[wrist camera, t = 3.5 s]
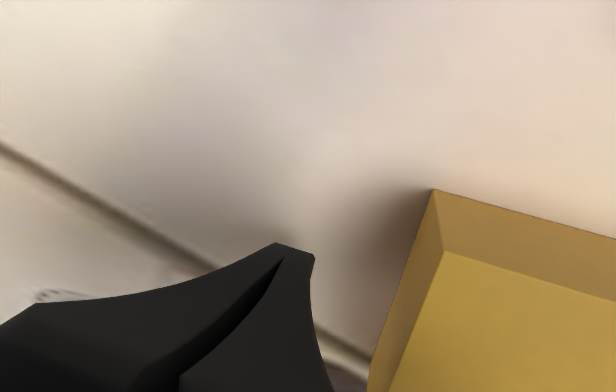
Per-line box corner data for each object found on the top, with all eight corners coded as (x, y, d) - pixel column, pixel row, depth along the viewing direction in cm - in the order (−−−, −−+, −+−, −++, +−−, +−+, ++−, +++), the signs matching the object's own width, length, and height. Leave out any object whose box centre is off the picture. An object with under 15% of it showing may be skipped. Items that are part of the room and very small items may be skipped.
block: (574, 437, 13) (640, 590, 9) (370, 364, 14) (354, 473, 10) (698, 261, 10) (862, 376, 6) (433, 188, 11) (443, 249, 7)
